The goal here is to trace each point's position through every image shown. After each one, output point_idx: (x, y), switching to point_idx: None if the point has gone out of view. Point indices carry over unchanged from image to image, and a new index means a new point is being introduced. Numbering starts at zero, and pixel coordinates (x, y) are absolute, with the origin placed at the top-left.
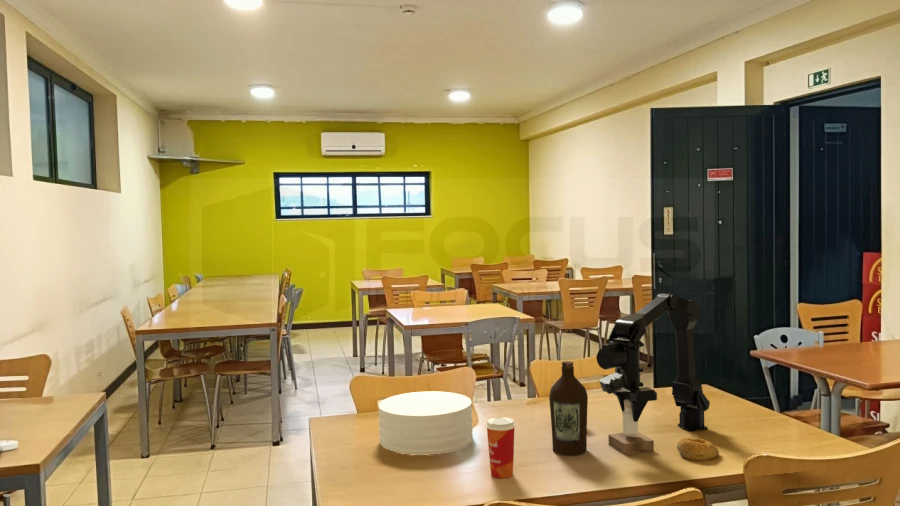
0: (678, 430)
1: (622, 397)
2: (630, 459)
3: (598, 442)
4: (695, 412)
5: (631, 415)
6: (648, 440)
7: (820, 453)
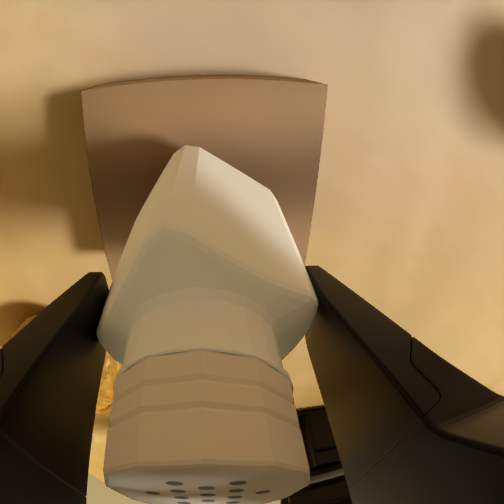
0: (315, 397)
1: (411, 458)
2: (39, 89)
3: (368, 55)
4: None
5: (109, 303)
6: (115, 263)
7: (91, 467)
